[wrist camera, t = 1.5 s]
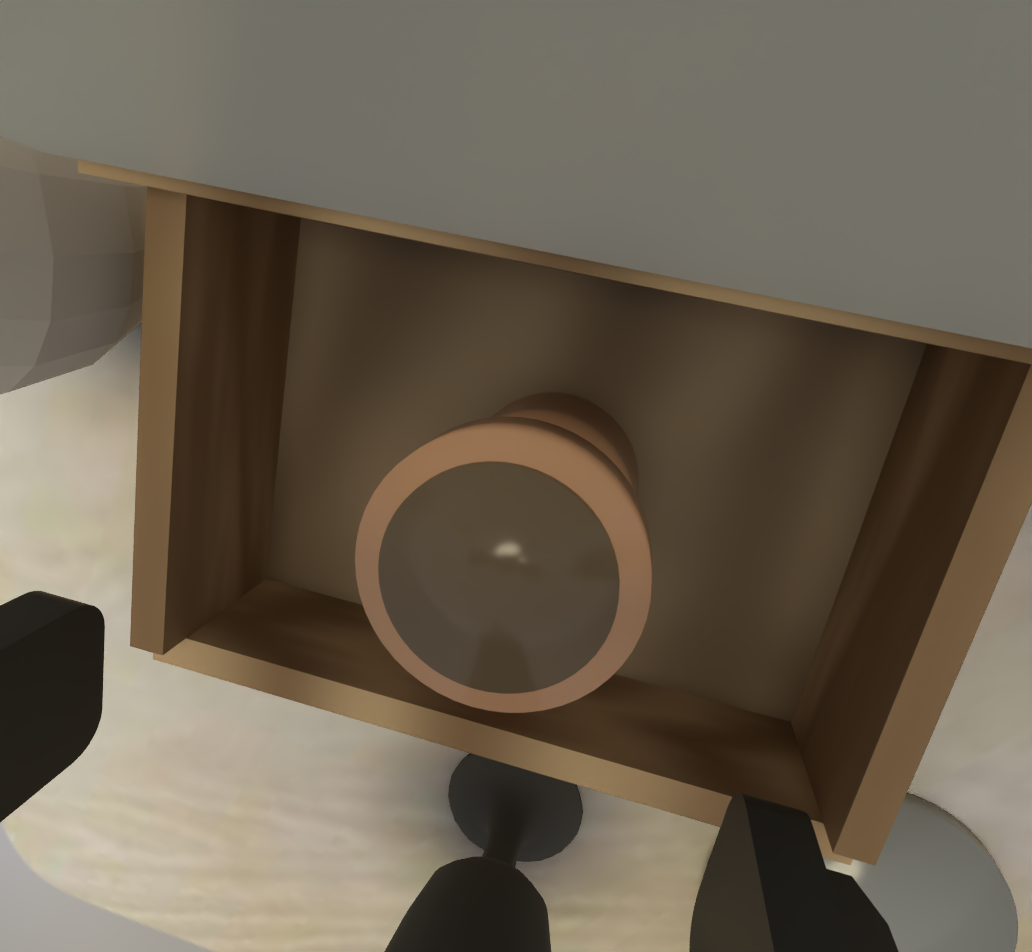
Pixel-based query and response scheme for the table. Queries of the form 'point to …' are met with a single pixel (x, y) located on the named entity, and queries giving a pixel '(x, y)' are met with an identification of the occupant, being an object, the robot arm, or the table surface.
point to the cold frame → (661, 490)
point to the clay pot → (511, 556)
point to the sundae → (493, 863)
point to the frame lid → (587, 130)
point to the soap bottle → (64, 264)
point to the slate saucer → (937, 885)
